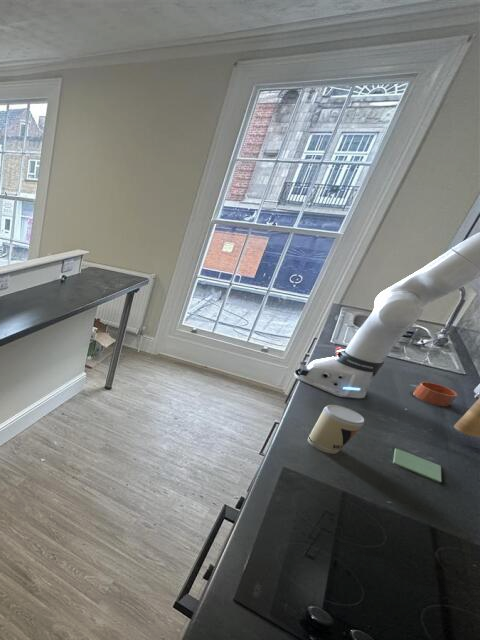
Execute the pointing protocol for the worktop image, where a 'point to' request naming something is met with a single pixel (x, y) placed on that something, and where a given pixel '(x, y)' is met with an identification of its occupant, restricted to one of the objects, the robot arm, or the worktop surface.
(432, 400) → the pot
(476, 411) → the pepper mill
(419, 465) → the plate
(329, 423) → the coffee cup
